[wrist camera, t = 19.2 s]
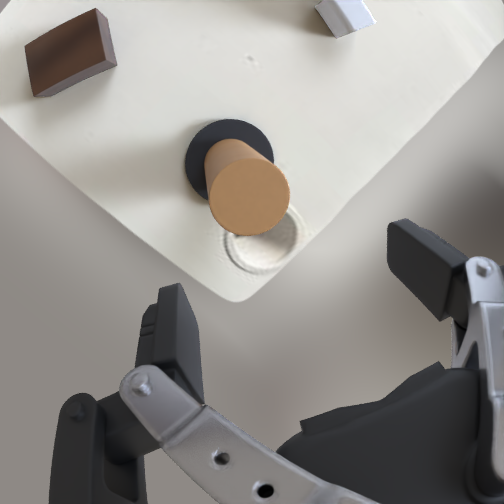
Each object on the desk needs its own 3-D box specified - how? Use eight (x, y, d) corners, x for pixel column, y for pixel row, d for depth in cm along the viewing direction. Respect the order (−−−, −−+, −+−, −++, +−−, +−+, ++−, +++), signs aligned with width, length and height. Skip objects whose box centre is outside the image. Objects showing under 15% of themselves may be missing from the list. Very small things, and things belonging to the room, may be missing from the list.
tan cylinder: (285, 257, 28) (302, 200, 17) (231, 272, 28) (212, 224, 16) (250, 153, 31) (246, 69, 20) (204, 165, 31) (180, 84, 20)
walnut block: (117, 65, 23) (106, 59, 19) (51, 96, 22) (33, 96, 19) (107, 18, 20) (95, 7, 16) (41, 50, 19) (24, 46, 16)
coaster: (218, 219, 32) (218, 221, 32) (168, 153, 28) (167, 154, 27) (287, 173, 31) (289, 174, 31) (242, 102, 27) (243, 102, 26)
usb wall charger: (333, 39, 25) (351, 32, 21) (299, -10, 21) (312, -23, 18) (360, 28, 24) (379, 21, 21) (327, -20, 21) (342, -31, 17)
